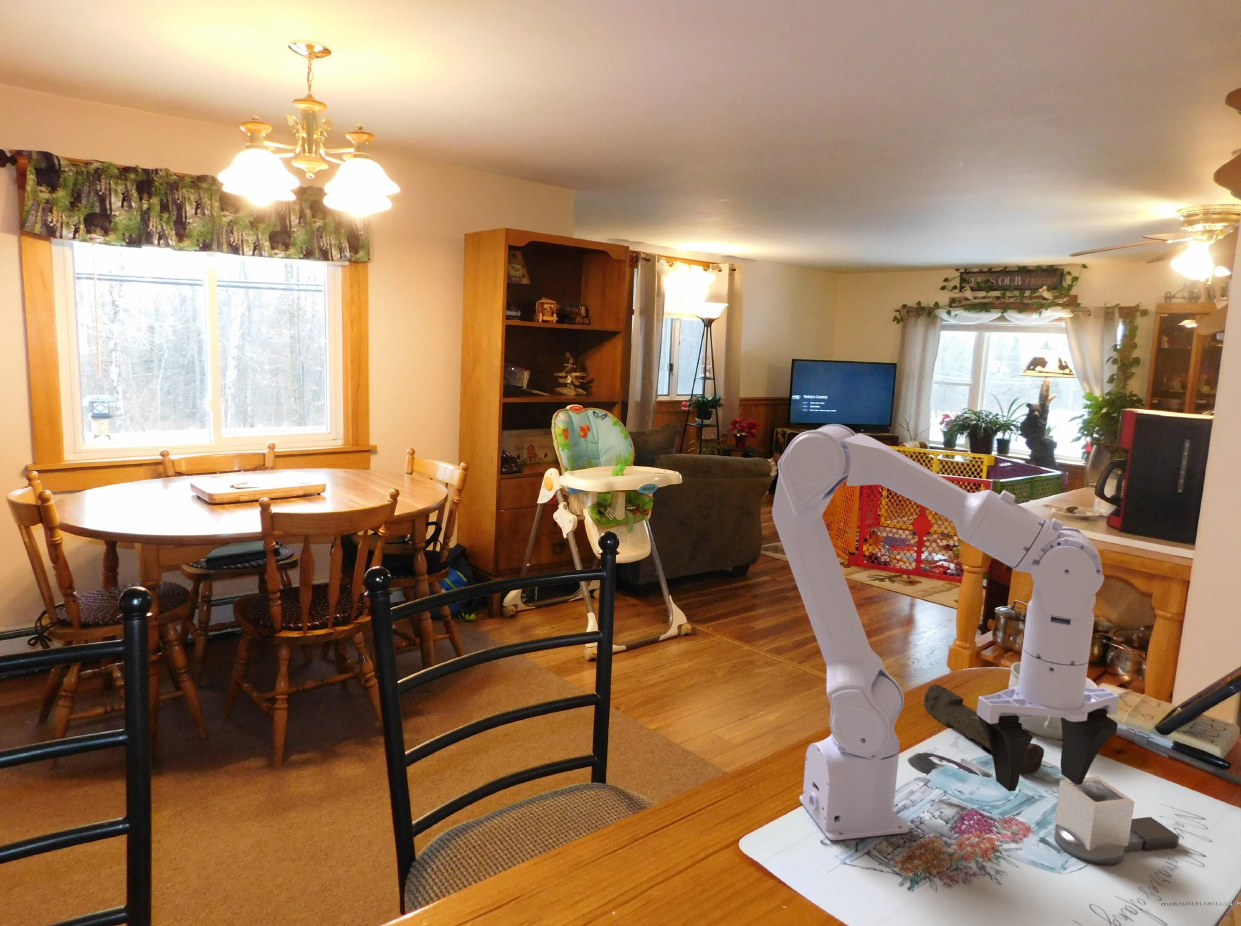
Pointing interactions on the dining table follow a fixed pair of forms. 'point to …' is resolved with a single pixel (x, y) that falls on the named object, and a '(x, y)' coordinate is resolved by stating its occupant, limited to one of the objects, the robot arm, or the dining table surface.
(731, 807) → the dining table surface
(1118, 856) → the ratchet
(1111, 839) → the socket
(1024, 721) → the teacup
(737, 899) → the dining table surface
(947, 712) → the brown wooden log
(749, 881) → the dining table surface
